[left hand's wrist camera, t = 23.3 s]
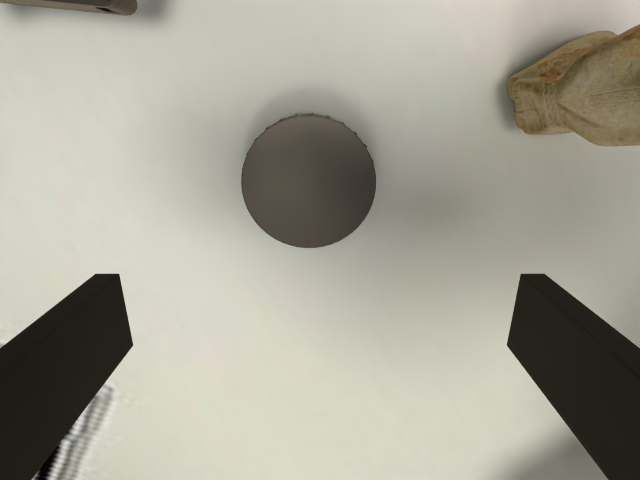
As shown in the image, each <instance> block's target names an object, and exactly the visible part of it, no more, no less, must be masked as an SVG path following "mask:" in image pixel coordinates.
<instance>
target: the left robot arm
mask: <svg viewBox="0 0 640 480" xmlns="http://www.w3.org/2000/svg"><path fill="white" fill-rule="evenodd" d="M132 346H133V342H132V337H131V332H130V327H129V322H128V317H127V312H126V306H125V301H124V296H123V291H122V286H121V281H120V276H119V274H95V275H94V276H92V277H91V278H90V279H88V280H87V281H86V282H85V283H83V284H82V285H81V286H80V287H78V288H77V289H76V290H74V291H73V292H72V293H71V294H69V295H68V296H67V297H65V298H64V299H63V300H62V301H60V302H59V303H58V304H57V305H55V306H54V307H53V308H51V309H50V310H49V311H48V312H46V313H45V314H44V315H42V316H41V317H40V318H39V319H37V320H36V321H35V322H33V323H32V324H31V325H30V326H28V327H27V328H26V329H25V330H23V331H22V332H21V333H19V334H18V335H17V336H16V337H14V338H13V339H12V340H10V341H9V342H8V343H7V344H5V345H4V346H3V347H2V348H0V480H31V479H32V478H33V477H34V475H35V474H36V473H37V472H38V470H39V469H40V468H41V466H42V465H43V464H44V462H45V461H46V460H47V458H48V457H49V456H50V454H51V453H52V452H53V450H54V449H55V448H56V446H57V445H58V444H59V442H60V441H61V440H62V439H63V437H64V436H65V435H66V433H67V432H68V431H69V429H70V428H71V427H72V425H73V424H74V423H75V421H76V420H77V419H78V417H79V416H80V415H81V413H82V412H83V411H84V409H85V408H86V407H87V406H88V404H89V403H90V402H91V400H92V399H93V398H94V396H95V395H96V394H97V392H98V391H99V390H100V388H101V387H102V386H103V384H104V383H105V382H106V380H107V379H108V378H109V376H110V375H111V374H112V372H113V371H114V370H115V369H116V367H117V366H118V365H119V363H120V362H121V361H122V359H123V358H124V357H125V355H126V354H127V353H128V351H129V350H130V349H131V347H132ZM507 346H508V347H509V349H510V350H511V351H512V353H513V354H514V355H515V357H516V358H517V359H518V361H519V362H520V363H521V365H522V366H523V367H524V369H525V370H526V371H527V372H528V374H529V375H530V376H531V378H532V379H533V380H534V382H535V383H536V384H537V386H538V387H539V388H540V390H541V391H542V392H543V394H544V395H545V396H546V398H547V399H548V400H549V402H550V403H551V404H552V406H553V407H554V408H555V409H556V411H557V412H558V413H559V415H560V416H561V417H562V419H563V420H564V421H565V423H566V424H567V425H568V427H569V428H570V429H571V431H572V432H573V433H574V435H575V436H576V437H577V439H578V440H579V441H580V442H581V444H582V445H583V446H584V448H585V449H586V450H587V452H588V453H589V454H590V456H591V457H592V458H593V460H594V461H595V462H596V464H597V465H598V466H599V468H600V469H601V470H602V472H603V473H604V474H605V475H606V477H607V478H608V479H609V480H640V348H638V347H637V346H636V345H635V344H633V343H632V342H631V341H630V340H628V339H627V338H626V337H624V336H623V335H622V334H621V333H619V332H618V331H617V330H615V329H614V328H613V327H612V326H610V325H609V324H608V323H607V322H605V321H604V320H603V319H601V318H600V317H599V316H598V315H596V314H595V313H594V312H592V311H591V310H590V309H589V308H587V307H586V306H585V305H583V304H582V303H581V302H580V301H578V300H577V299H576V298H575V297H573V296H572V295H571V294H569V293H568V292H567V291H566V290H564V289H563V288H562V287H560V286H559V285H558V284H557V283H555V282H554V281H553V280H552V279H550V278H549V277H548V276H546V275H545V274H521V276H520V281H519V286H518V291H517V296H516V301H515V306H514V312H513V317H512V322H511V327H510V332H509V337H508V342H507Z"/></svg>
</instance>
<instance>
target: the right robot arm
mask: <svg viewBox="0 0 640 480" xmlns="http://www.w3.org/2000/svg"><path fill="white" fill-rule="evenodd" d="M0 3H9V4H19V5H29V6H38V7H48V8H58V9H68V10H77V11H87V12H97V13H107V14H116V15H126V16H127V15H132V14H133V13H134V12H135V11H136V9H137V1H136V0H0Z"/></svg>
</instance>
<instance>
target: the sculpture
mask: <svg viewBox="0 0 640 480" xmlns="http://www.w3.org/2000/svg"><path fill="white" fill-rule="evenodd" d="M507 89H508V95H509V97H510V98H511V99H512V100H513V101H514V103H515V108H516V110H515V111H514V112H513V116H514V119H515V121H516V124H517V127H518V128H522V129H523V131H524V132H525V133H527V134H532V135H547V134H561V133H568V132H573V131H574V132H576V133H577V134H579V135H580V136H582V137H583V138H585V139H586V140H588V141H590V142H592V143H594V144H596V145H599V146H634V145H640V25H637V26H635V27H633V28H631V29H629V30H628V31H626V32H624V33H622V34H620V35H618V36H617V35H616V34H615V33H613V32H610V31H598V32H594V33H590V34H587V35H584V36H581V37H579V38H577V39H574V40H572V41H570V42H568V43H567V44H565V45H563V46H561V47H560V48H558V49H557V50H555V51H553V52H552V53H550V54H549V55H547V56H546V57H544V58H542V59H541V60H539V61H538V62H536V63H535V64H533V65H531V66H529V67H527V68H525V69H524V70H522V71H520V72H518V73H516V74H514V75H513V76H511V77H510V78H509V79H508V80H507Z"/></svg>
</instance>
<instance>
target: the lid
mask: <svg viewBox="0 0 640 480" xmlns="http://www.w3.org/2000/svg"><path fill="white" fill-rule="evenodd" d="M356 135H357V134H356V133H355V132H354V133H353V132H352V131H351V130H350V129H349V128H348V127H346V126H345V125H344V123H343V122H342V123H340V122H338V121H336V120H334V119H332V118H330V117H329V116H327V117H325V116H321V115H314V114H313V113H312V114H302V115H297V114H296V115H295V116H292V117H288V118H285V119H283V120H282V119H280V120H279V122H277V123H275V124H274V125H272V126H271V127H267V128H266V131H265V132H264V133H262V134H261V135H260V136H259V138H256V139H255V142H254V144H253V145H252V147H251V148H250V150H249V152H248V153H247V154H246V155H247V156H246V159H245V162H244V165H243V168H242V182H241V185H242V193H243V197H244V201H245V204H246V206H247V209H248V211H249V213H250V214H251V216H252V218H253V219H254V220H255V222H256V223H257V224H258V225H259V226H260V227H261V229H263V230H264V231H265V232H266V233H267V234H268V235H270V236H272V237H273V238H275V239H276V240H278V241H280V242H283V243H285V244H288V245H291V246H296V247H303V248H316V247H323V246H326V245H330V244H333V243H335V242H338V241H340V240H342V239H343V238H345V237H347V236H348V235H349V234H351V233H352V232H353V231H354V230H355V229H356V228H357V227H358V226H359V225H360V224H361V223H362V222H363V220H364V219H365V217H366V216H367V214H368V212H369V210H370V208H371V206H372V203H373V199H374V195H375V189H376V175H375V169H374V165H373V160H372V159H371V156H370V154H369V152H368V150H367V149H366V148H367V146H366V145H365V144H363V143H362V141H361V140H360V139H359V138H358V137H357V136H356Z"/></svg>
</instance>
